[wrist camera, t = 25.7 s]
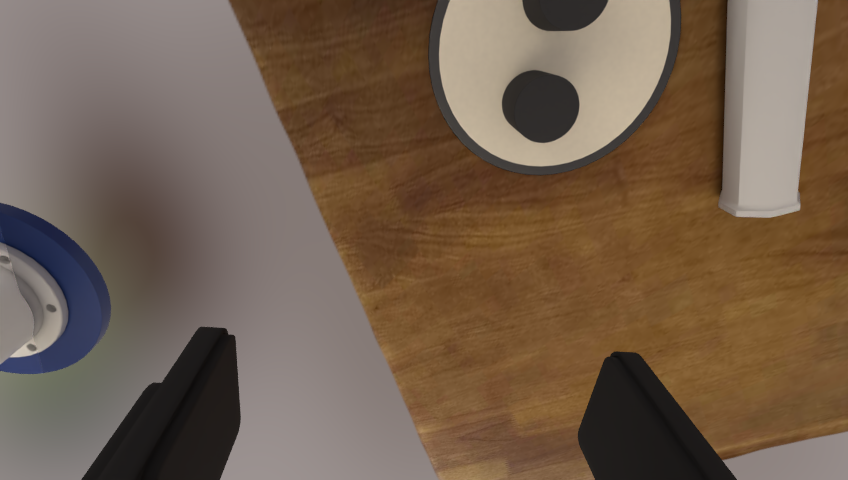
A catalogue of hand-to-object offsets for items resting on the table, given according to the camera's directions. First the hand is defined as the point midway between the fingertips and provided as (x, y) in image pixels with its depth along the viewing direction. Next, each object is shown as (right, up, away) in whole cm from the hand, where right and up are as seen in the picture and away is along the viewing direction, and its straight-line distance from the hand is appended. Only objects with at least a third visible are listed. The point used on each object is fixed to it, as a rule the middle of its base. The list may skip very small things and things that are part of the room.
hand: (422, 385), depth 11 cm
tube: (+23, +19, +21) cm, 37 cm away
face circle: (+9, +17, +21) cm, 29 cm away
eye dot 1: (+9, +20, +19) cm, 29 cm away
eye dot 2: (+8, +14, +22) cm, 27 cm away
